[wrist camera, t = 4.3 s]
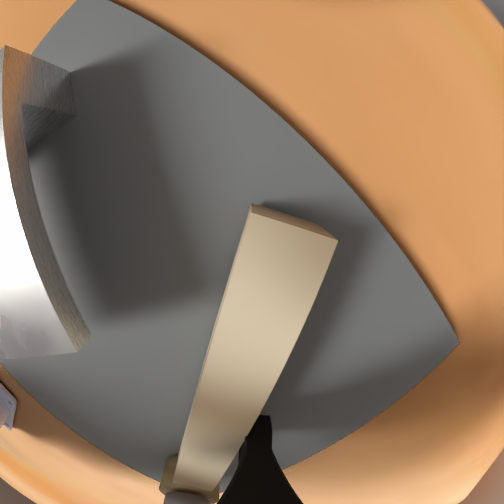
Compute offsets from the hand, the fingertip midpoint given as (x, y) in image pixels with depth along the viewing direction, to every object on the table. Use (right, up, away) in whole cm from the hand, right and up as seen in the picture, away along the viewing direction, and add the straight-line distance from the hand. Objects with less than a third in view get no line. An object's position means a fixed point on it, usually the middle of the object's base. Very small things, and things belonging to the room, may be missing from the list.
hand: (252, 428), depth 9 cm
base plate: (-5, +4, +1) cm, 7 cm away
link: (-1, +1, 0) cm, 2 cm away
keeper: (-8, +9, -1) cm, 12 cm away
